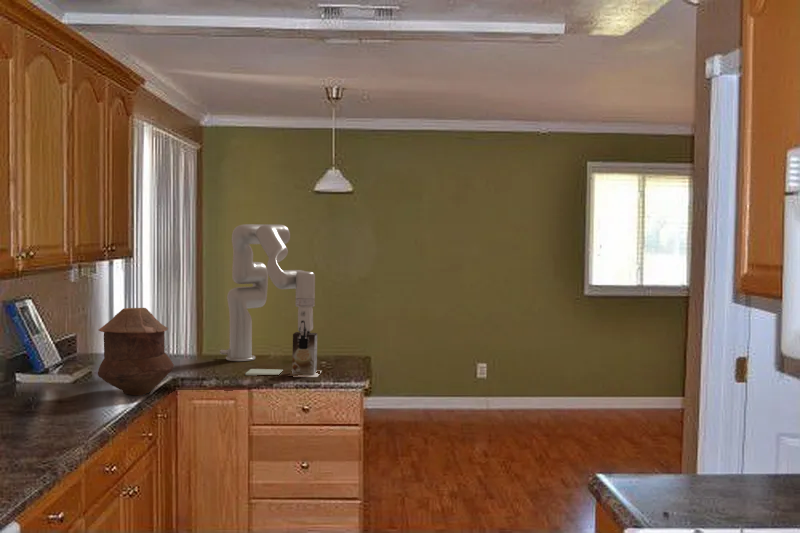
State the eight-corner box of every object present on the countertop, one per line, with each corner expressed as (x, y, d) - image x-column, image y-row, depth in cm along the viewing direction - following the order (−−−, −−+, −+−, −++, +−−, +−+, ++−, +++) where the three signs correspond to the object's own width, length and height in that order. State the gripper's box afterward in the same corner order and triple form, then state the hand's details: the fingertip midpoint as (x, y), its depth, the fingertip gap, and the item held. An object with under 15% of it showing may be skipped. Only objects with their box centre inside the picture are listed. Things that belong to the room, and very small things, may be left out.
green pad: (245, 375, 344) (245, 373, 344) (250, 370, 354) (250, 368, 354) (278, 375, 343) (278, 373, 343) (282, 371, 353) (282, 369, 353)
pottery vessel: (134, 403, 290) (133, 313, 288) (80, 395, 302) (80, 308, 301) (188, 390, 312) (188, 306, 311) (136, 383, 325) (136, 302, 323)
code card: (286, 376, 342) (286, 376, 342) (292, 370, 356) (292, 370, 356) (317, 377, 342) (317, 376, 342) (322, 371, 356) (322, 370, 356)
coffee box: (291, 374, 346) (291, 333, 346) (294, 371, 353) (295, 331, 352) (314, 375, 346) (314, 334, 345) (317, 372, 352) (317, 332, 351)
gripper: (311, 305, 339) (310, 350, 340) (317, 300, 356) (317, 344, 357) (292, 304, 339) (291, 350, 340) (299, 300, 356) (298, 344, 357)
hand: (304, 347), depth 349 cm, fingers closed on coffee box, 6 cm apart
